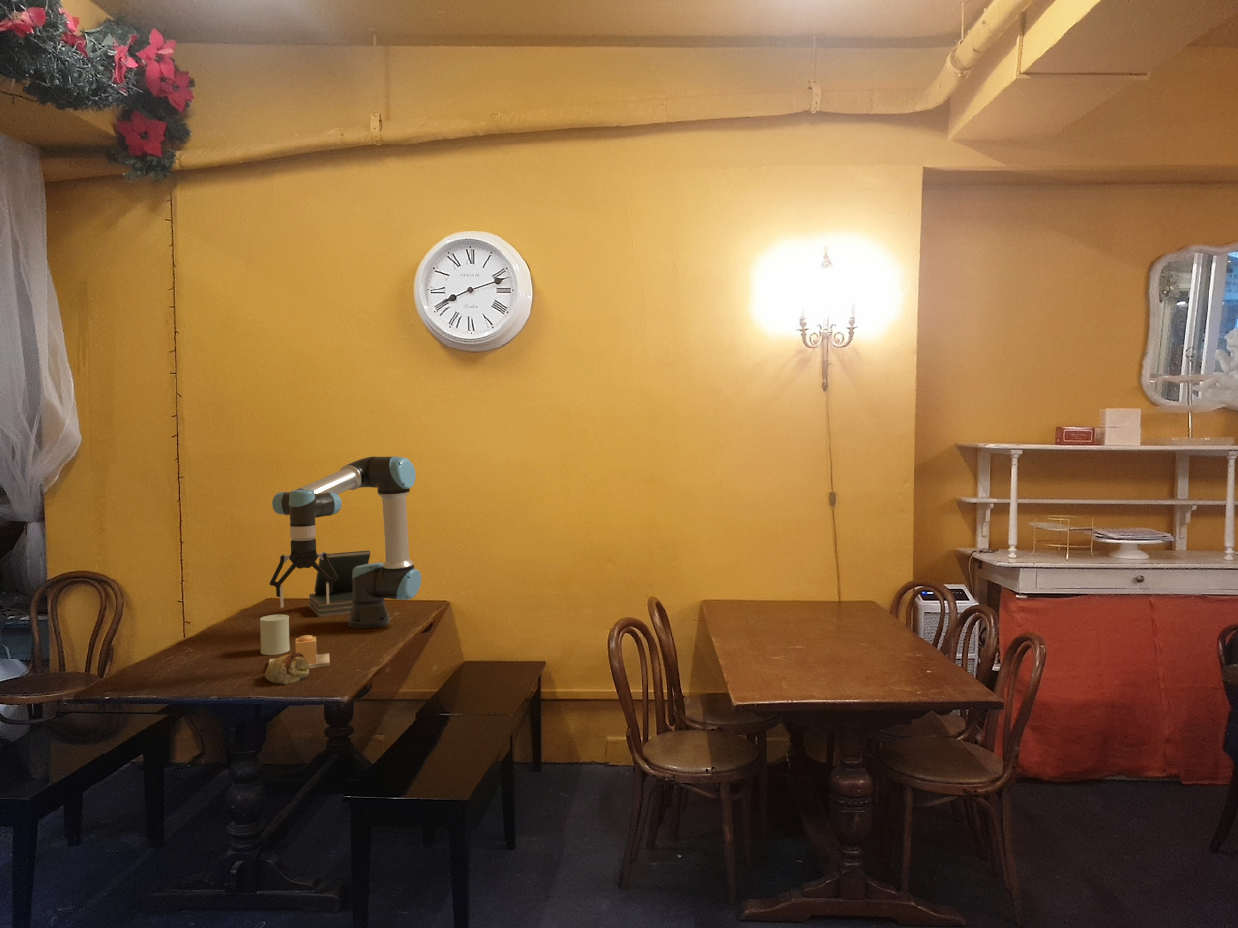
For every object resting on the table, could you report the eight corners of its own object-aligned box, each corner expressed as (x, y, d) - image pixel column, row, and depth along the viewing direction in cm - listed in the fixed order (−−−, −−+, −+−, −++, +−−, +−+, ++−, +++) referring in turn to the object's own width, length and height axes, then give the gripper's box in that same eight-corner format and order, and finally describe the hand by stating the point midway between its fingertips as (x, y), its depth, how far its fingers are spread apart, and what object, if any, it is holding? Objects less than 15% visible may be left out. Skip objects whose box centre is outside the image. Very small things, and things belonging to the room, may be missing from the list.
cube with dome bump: (316, 657, 258) (315, 633, 258) (316, 663, 253) (315, 638, 252) (296, 659, 256) (295, 635, 256) (295, 665, 251) (295, 639, 250)
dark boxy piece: (365, 602, 347) (364, 545, 346) (376, 611, 330) (375, 551, 329) (309, 608, 335) (308, 549, 334) (318, 618, 318) (316, 555, 317)
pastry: (303, 684, 236) (303, 657, 236) (259, 686, 234) (258, 659, 234) (314, 670, 250) (313, 644, 250) (272, 672, 248) (271, 646, 248)
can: (296, 648, 274) (295, 614, 273) (276, 656, 265) (275, 620, 264) (274, 646, 277) (273, 612, 276) (254, 653, 268) (253, 618, 267)
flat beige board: (329, 656, 264) (328, 638, 263) (329, 666, 253) (329, 646, 253) (269, 662, 257) (269, 643, 257) (267, 672, 247) (267, 652, 247)
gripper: (344, 534, 261) (346, 598, 262) (260, 539, 252) (263, 605, 253) (345, 537, 253) (347, 603, 255) (259, 542, 245) (261, 611, 246)
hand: (305, 605), depth 254 cm, fingers open, 13 cm apart
